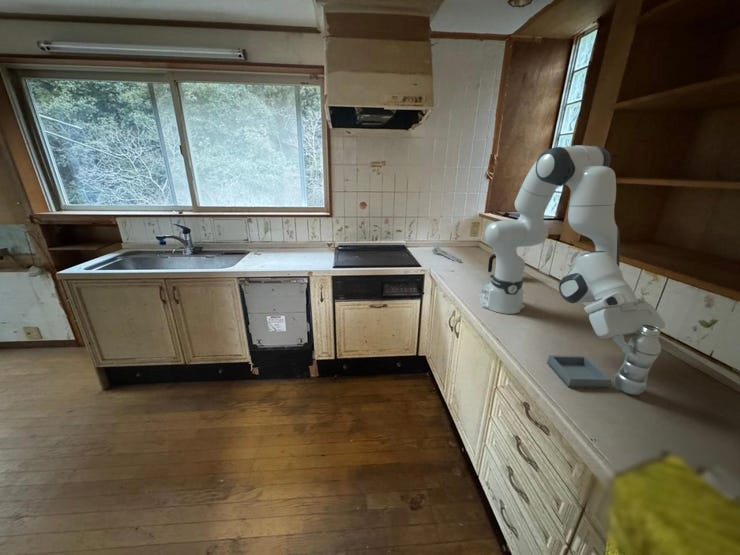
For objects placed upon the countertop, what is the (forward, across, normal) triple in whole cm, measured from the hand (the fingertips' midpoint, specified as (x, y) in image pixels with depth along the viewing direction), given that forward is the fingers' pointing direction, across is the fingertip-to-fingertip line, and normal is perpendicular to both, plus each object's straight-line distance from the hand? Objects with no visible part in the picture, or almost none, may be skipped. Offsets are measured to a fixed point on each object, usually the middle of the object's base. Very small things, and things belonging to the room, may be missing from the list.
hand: (643, 350), depth 77 cm
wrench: (-85, -12, -103) cm, 134 cm away
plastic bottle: (+9, 0, -10) cm, 13 cm away
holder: (+3, +9, -16) cm, 18 cm away
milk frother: (-50, -22, -69) cm, 88 cm away
